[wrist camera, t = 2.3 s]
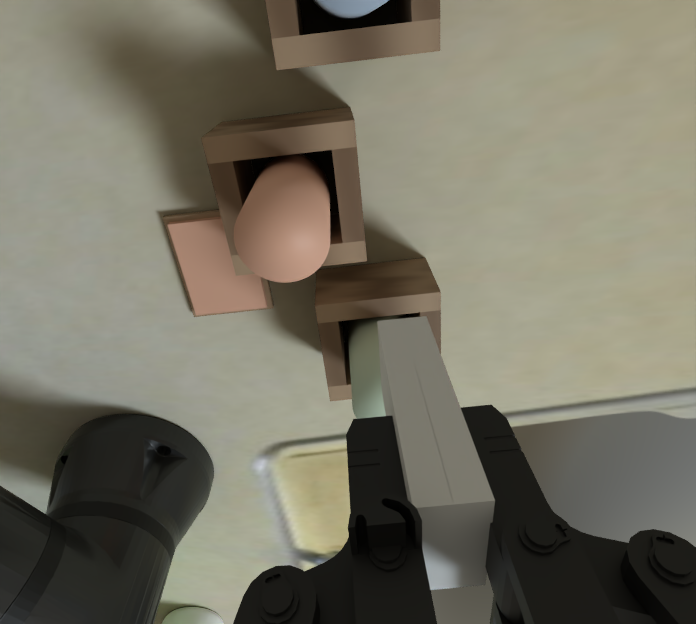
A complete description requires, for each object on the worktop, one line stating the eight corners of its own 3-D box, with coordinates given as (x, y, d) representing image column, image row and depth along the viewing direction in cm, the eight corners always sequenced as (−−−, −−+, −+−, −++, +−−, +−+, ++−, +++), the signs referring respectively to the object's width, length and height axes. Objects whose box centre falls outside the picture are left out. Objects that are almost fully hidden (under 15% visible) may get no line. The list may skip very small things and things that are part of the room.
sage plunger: (350, 356, 39) (356, 435, 31) (344, 306, 37) (348, 377, 29) (409, 350, 39) (429, 427, 31) (407, 299, 37) (428, 369, 29)
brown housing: (248, 242, 37) (235, 275, 32) (221, 122, 32) (201, 137, 27) (361, 229, 37) (367, 261, 32) (350, 107, 32) (354, 120, 27)
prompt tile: (195, 313, 40) (192, 319, 39) (164, 215, 36) (160, 220, 35) (273, 305, 40) (272, 311, 39) (252, 205, 35) (250, 209, 35)
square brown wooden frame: (330, 357, 43) (330, 401, 38) (316, 269, 38) (314, 305, 33) (427, 347, 43) (440, 389, 37) (425, 257, 38) (440, 291, 33)
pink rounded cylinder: (264, 229, 33) (245, 287, 25) (249, 157, 31) (223, 197, 23) (333, 221, 33) (335, 277, 25) (324, 148, 31) (323, 186, 23)
